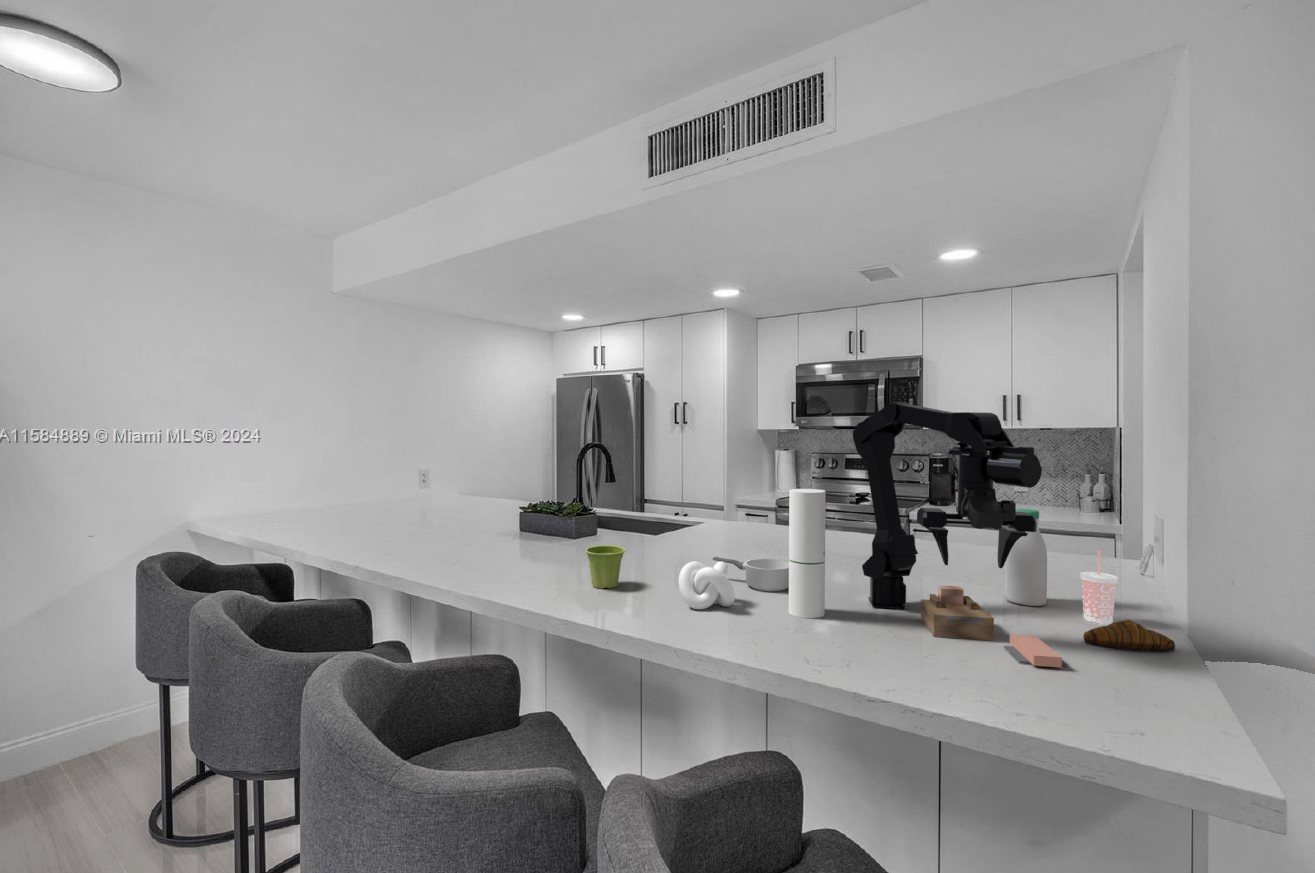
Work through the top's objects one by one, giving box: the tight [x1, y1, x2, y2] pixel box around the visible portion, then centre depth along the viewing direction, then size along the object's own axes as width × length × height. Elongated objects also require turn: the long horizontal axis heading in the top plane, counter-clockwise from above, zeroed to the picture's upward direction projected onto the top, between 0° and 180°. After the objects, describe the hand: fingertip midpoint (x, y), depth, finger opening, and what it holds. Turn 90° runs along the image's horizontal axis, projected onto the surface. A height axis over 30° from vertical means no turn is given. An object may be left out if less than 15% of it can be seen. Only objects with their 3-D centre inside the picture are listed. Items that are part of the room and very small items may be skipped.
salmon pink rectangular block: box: [1009, 633, 1063, 668], centre depth 102 cm, size 4×10×2 cm, turn 169°
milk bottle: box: [1004, 508, 1048, 607], centre depth 133 cm, size 8×8×20 cm
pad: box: [1003, 645, 1069, 667], centre depth 102 cm, size 7×7×1 cm
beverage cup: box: [1079, 549, 1119, 626], centre depth 120 cm, size 6×6×14 cm
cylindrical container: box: [788, 488, 826, 619], centre depth 125 cm, size 7×7×25 cm
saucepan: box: [712, 556, 789, 592], centre depth 147 cm, size 12×20×6 cm, turn 60°
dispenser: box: [920, 584, 995, 641], centre depth 115 cm, size 10×10×7 cm
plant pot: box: [585, 545, 626, 590], centre depth 146 cm, size 9×9×9 cm
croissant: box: [1082, 619, 1176, 652], centre depth 106 cm, size 14×7×5 cm, turn 75°
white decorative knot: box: [678, 560, 736, 611], centre depth 130 cm, size 11×12×9 cm
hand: (972, 566), depth 112 cm, fingers open, 9 cm apart
